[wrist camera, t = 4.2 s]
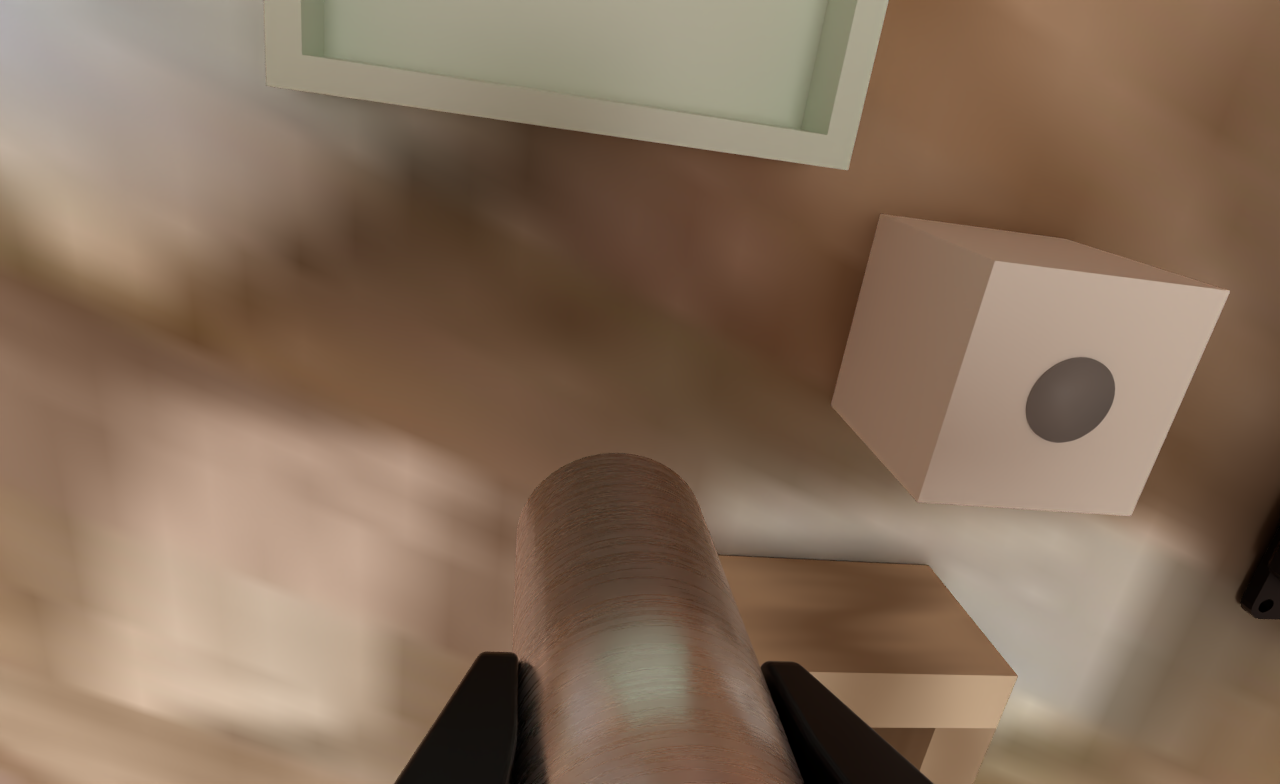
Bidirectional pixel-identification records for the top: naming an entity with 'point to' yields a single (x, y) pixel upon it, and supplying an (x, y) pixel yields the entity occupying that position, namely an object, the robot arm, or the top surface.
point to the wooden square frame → (882, 652)
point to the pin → (633, 639)
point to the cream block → (1018, 366)
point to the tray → (600, 65)
